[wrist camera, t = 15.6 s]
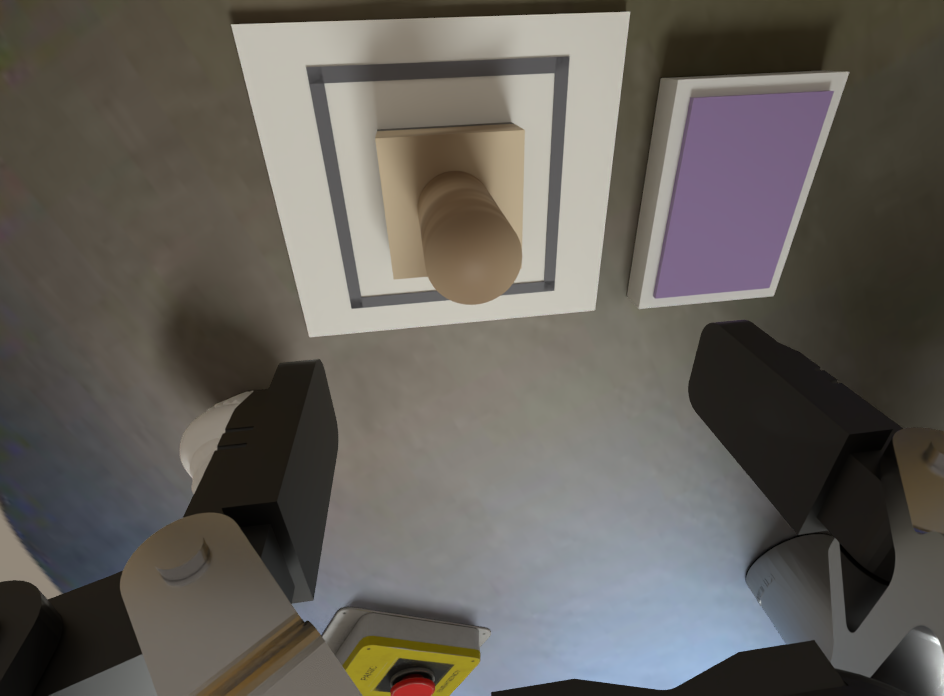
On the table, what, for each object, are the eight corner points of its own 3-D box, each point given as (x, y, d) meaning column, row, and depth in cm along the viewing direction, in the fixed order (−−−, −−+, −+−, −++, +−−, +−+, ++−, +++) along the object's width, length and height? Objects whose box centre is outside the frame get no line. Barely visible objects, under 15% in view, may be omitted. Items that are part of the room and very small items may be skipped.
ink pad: (822, 70, 22) (854, 72, 21) (755, 284, 28) (777, 298, 27) (660, 78, 22) (681, 80, 20) (626, 296, 27) (640, 311, 26)
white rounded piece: (204, 360, 26) (148, 450, 20) (320, 378, 28) (299, 466, 22) (203, 443, 29) (153, 543, 23) (307, 455, 31) (286, 551, 25)
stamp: (511, 122, 21) (570, 157, 14) (510, 249, 25) (557, 331, 17) (377, 129, 21) (367, 170, 14) (393, 258, 24) (392, 348, 17)
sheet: (626, 12, 20) (630, 11, 20) (592, 307, 28) (595, 310, 27) (234, 25, 19) (230, 24, 18) (310, 333, 26) (309, 337, 26)
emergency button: (454, 722, 45) (297, 711, 40) (450, 672, 49) (305, 656, 44) (502, 674, 42) (336, 655, 36) (494, 623, 45) (341, 599, 40)
